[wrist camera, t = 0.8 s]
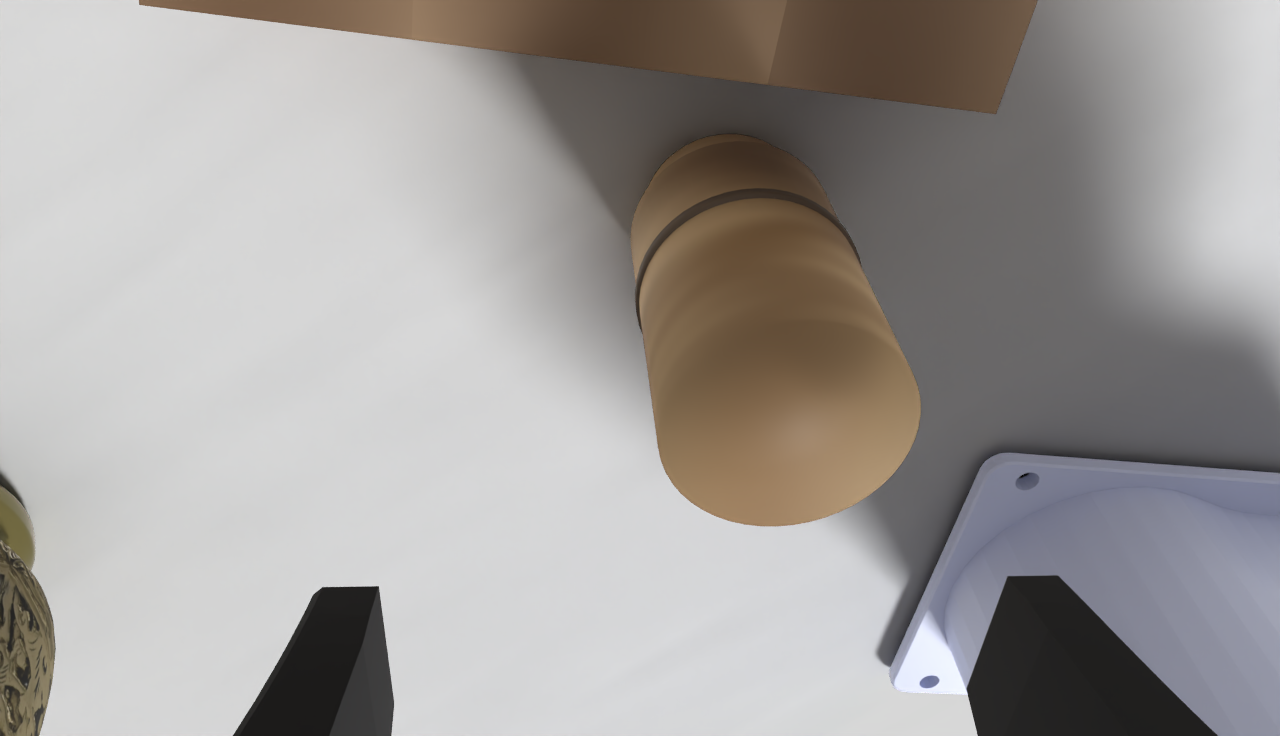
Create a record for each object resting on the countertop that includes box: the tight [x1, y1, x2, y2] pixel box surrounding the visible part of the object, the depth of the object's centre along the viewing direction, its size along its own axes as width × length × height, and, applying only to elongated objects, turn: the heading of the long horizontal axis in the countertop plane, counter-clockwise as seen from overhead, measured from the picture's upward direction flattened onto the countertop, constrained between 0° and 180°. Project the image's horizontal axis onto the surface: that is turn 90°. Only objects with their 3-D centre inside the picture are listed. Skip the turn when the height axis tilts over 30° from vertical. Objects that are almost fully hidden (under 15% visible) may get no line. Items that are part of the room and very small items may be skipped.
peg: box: [630, 134, 921, 526], centre depth 17 cm, size 4×4×6 cm
